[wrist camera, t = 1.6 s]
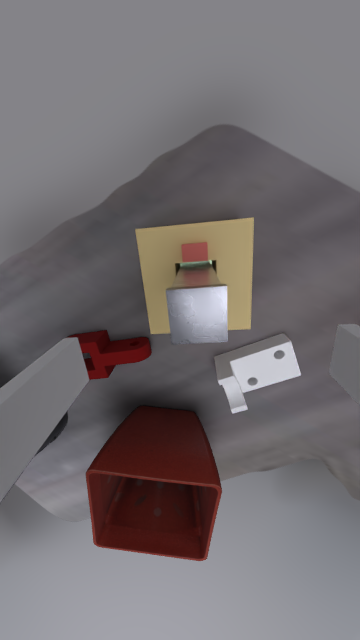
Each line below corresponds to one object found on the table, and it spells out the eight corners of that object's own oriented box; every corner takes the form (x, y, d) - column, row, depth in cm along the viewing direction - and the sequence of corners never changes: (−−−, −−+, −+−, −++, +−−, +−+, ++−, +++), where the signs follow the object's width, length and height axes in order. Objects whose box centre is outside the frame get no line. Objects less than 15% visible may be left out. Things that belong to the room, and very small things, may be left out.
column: (183, 287, 37) (170, 345, 18) (181, 259, 35) (163, 289, 16) (211, 285, 36) (229, 342, 17) (210, 256, 35) (228, 284, 15)
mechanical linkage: (80, 366, 44) (66, 382, 40) (67, 335, 42) (51, 347, 37) (156, 357, 42) (151, 372, 38) (148, 323, 40) (142, 335, 35)
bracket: (226, 384, 44) (232, 413, 37) (213, 356, 42) (217, 380, 35) (292, 363, 41) (312, 390, 34) (282, 332, 39) (302, 353, 32)
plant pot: (121, 389, 46) (83, 471, 30) (213, 399, 45) (223, 487, 29) (123, 454, 53) (93, 547, 37) (203, 463, 52) (206, 562, 36)
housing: (159, 315, 39) (148, 339, 30) (148, 230, 34) (131, 228, 25) (239, 310, 38) (253, 333, 29) (240, 221, 33) (257, 216, 24)
